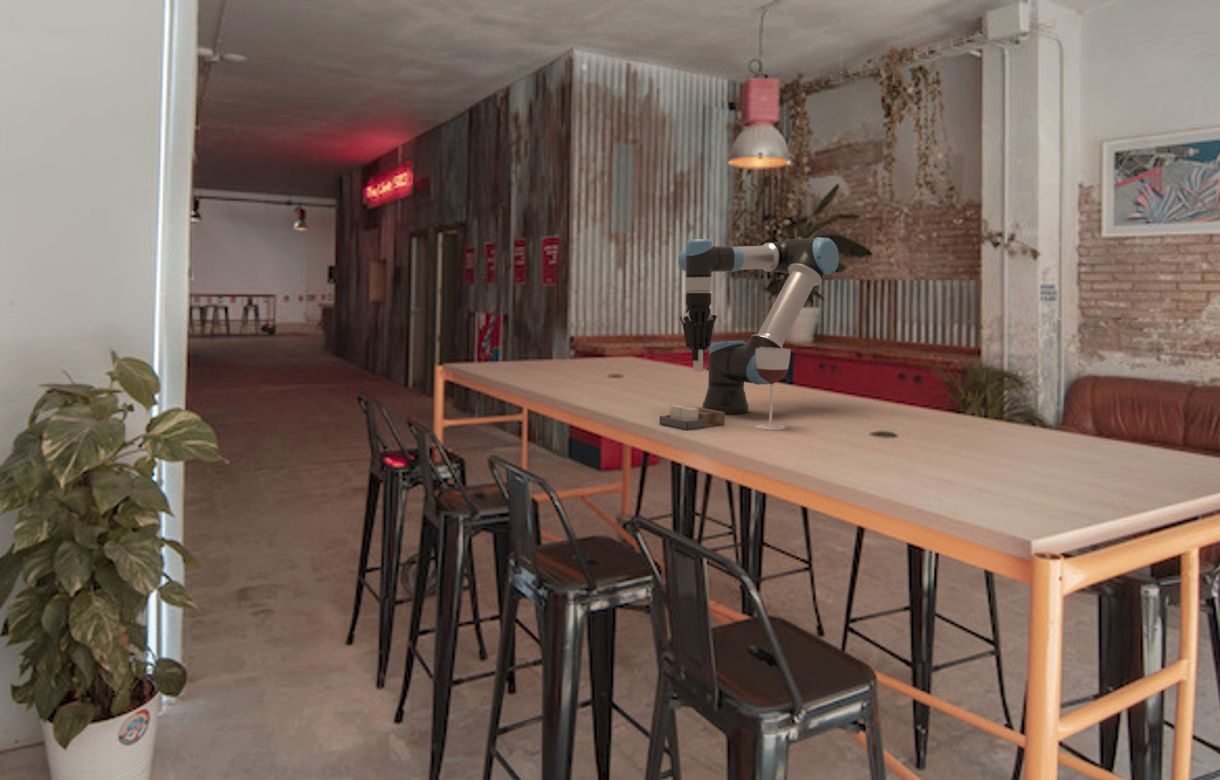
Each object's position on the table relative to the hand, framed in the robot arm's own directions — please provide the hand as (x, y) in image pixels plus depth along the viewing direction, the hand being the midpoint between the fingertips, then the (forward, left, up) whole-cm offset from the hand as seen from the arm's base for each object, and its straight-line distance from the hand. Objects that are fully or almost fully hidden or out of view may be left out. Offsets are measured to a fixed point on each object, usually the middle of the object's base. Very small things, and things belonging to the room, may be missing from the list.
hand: (698, 371), depth 253 cm
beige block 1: (+6, 0, -13) cm, 14 cm away
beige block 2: (+6, +5, -13) cm, 15 cm away
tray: (+8, +2, -16) cm, 18 cm away
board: (+1, +2, -16) cm, 16 cm away
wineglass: (-13, +17, -16) cm, 27 cm away
